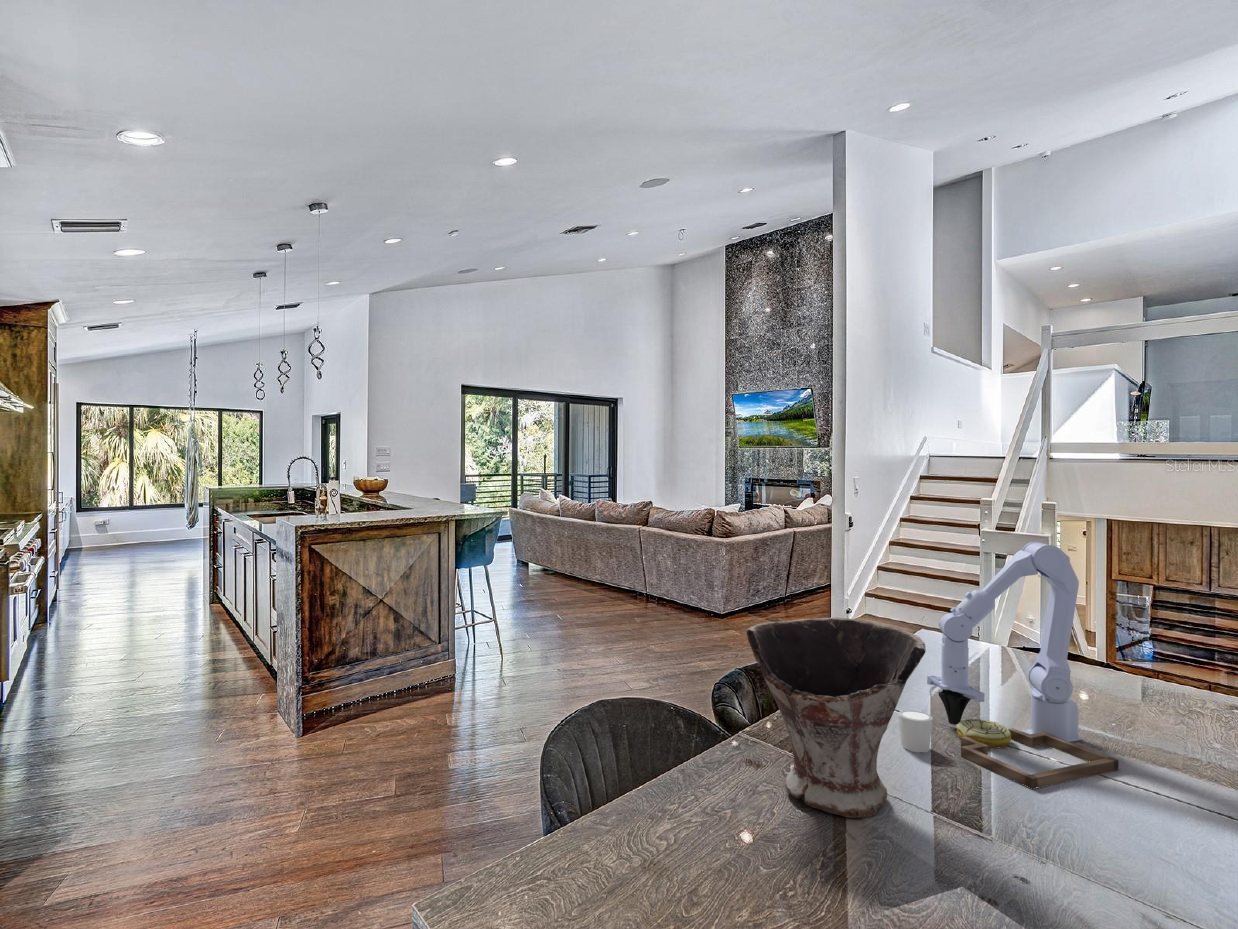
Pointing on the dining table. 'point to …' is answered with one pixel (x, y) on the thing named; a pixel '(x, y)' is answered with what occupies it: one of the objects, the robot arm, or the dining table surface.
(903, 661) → the vessel
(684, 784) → the dining table surface
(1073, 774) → the frame
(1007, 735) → the decorated donut
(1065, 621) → the robot arm
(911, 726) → the white cylinder
